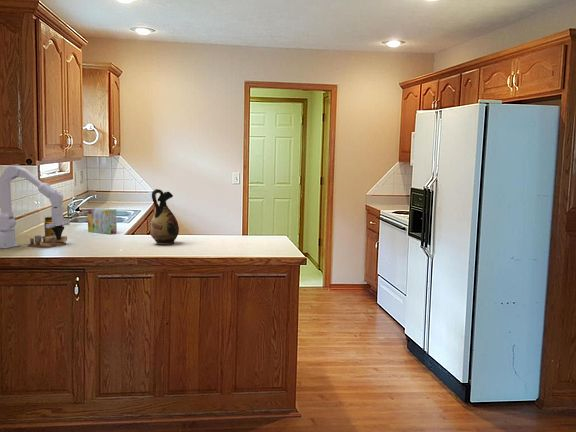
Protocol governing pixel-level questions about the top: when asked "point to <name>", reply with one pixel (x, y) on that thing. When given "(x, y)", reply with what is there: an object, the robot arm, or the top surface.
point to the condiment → (48, 230)
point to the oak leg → (53, 239)
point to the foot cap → (38, 238)
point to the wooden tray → (44, 243)
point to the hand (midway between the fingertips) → (58, 239)
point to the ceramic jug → (163, 220)
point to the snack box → (102, 220)
